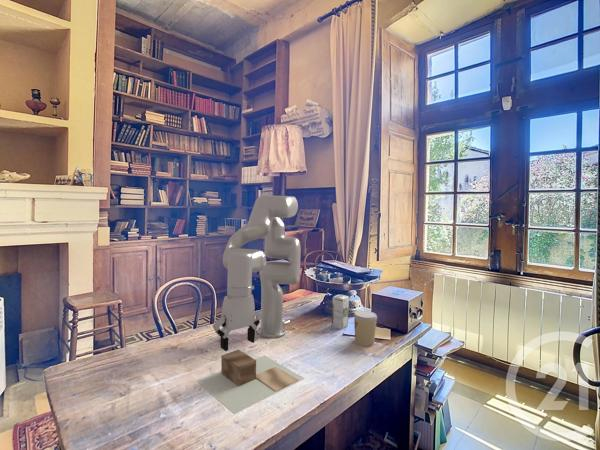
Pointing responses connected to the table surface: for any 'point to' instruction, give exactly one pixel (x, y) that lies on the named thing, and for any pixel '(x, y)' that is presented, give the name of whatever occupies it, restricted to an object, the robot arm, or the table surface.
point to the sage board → (243, 387)
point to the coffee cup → (365, 327)
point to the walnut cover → (238, 367)
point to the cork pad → (276, 378)
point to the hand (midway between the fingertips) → (238, 345)
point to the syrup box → (340, 311)
